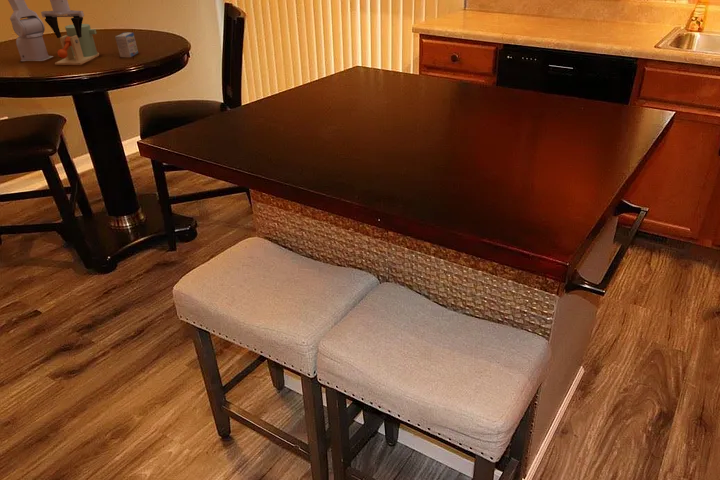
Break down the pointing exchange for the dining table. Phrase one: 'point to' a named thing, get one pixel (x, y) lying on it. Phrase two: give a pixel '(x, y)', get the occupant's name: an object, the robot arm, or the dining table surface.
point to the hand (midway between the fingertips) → (69, 37)
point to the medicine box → (126, 44)
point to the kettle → (84, 39)
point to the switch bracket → (78, 53)
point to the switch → (63, 52)
